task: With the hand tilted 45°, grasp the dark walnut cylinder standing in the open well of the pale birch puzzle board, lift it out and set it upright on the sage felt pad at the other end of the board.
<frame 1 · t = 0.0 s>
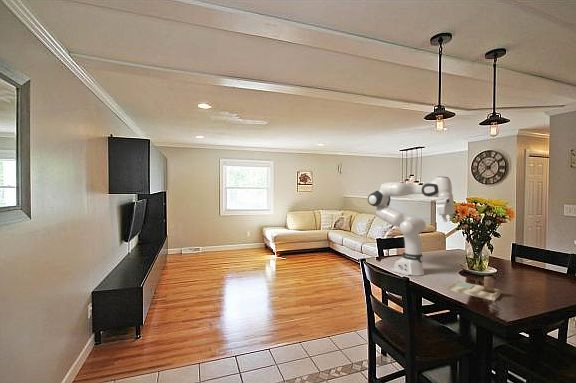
hand: (448, 221, 183), 39 cm above the table, tool pointing down, fingers open, 8 cm apart
puzzle board: (474, 292, 161), on the table
felt pad: (464, 285, 165), resting on puzzle board
wooden cylinder: (488, 295, 156), resting in puzzle board
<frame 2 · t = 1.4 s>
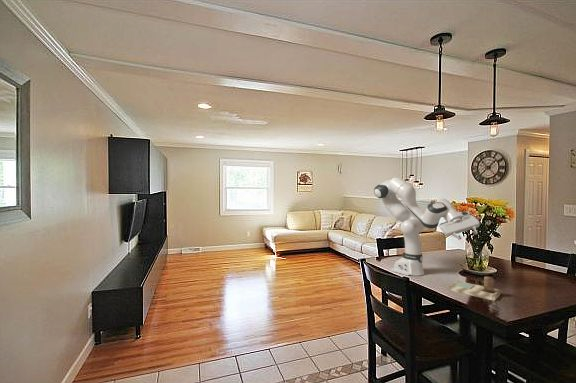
hand: (468, 236, 163), 32 cm above the table, tool tilted 50°, fingers open, 8 cm apart
nothing on the table moved.
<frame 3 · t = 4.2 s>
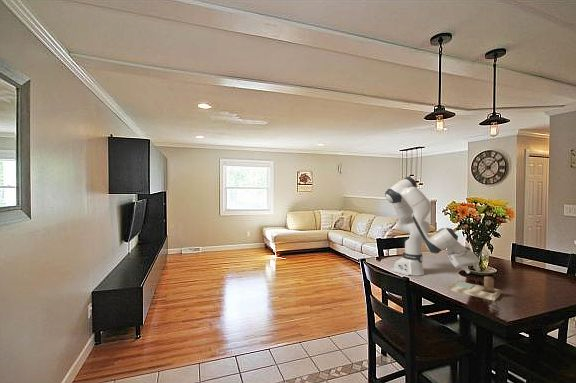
hand: (474, 271, 162), 12 cm above the table, tool tilted 45°, fingers open, 8 cm apart
nothing on the table moved.
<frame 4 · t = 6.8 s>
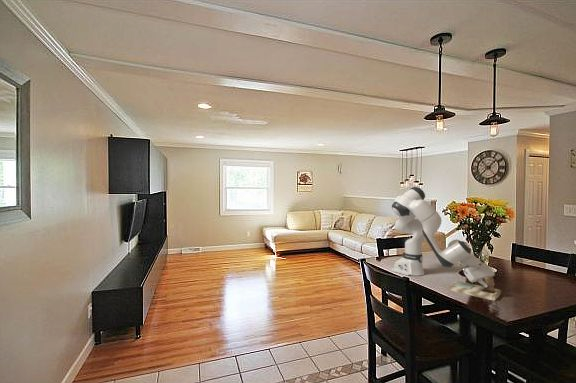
hand: (490, 286, 155), 5 cm above the table, tool tilted 45°, fingers closed on wooden cylinder, 4 cm apart
wooden cylinder: (489, 295, 156), resting in puzzle board, touching gripper
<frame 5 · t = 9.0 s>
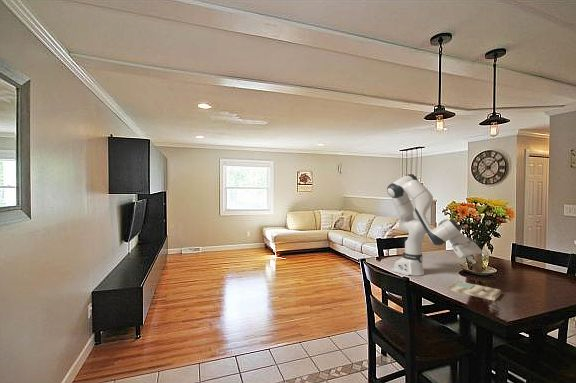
hand: (478, 262, 161), 17 cm above the table, tool tilted 45°, fingers closed on wooden cylinder, 4 cm apart
wooden cylinder: (477, 271, 162), point 12 cm above the table, touching gripper
when the fingers open (10 cm above the table, at t = 11.5 s): wooden cylinder drops 1 cm, resting on felt pad.
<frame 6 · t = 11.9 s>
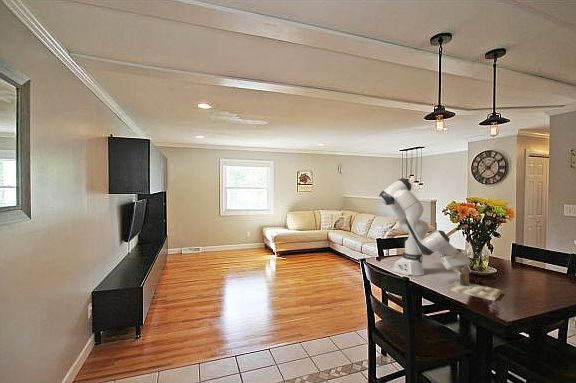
hand: (465, 273, 164), 10 cm above the table, tool tilted 45°, fingers open, 8 cm apart
wooden cylinder: (464, 284, 165), point 3 cm above the table, touching felt pad
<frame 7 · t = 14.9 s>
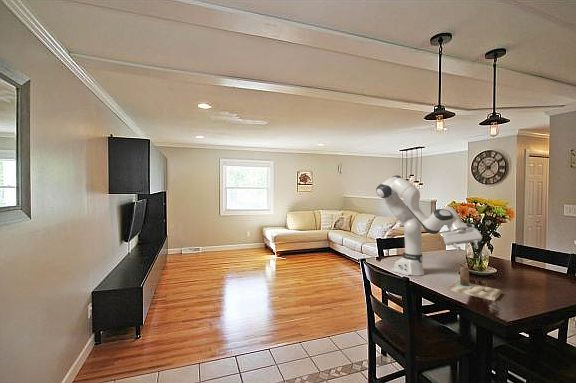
hand: (468, 249, 162), 25 cm above the table, tool tilted 45°, fingers open, 8 cm apart
nothing on the table moved.
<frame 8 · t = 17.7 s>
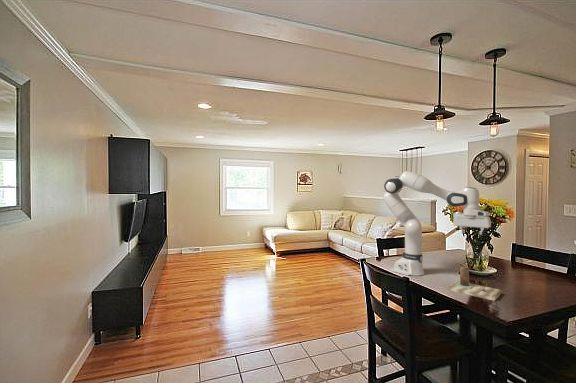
hand: (471, 233, 178), 31 cm above the table, tool pointing down, fingers open, 8 cm apart
nothing on the table moved.
at the end: wooden cylinder 0.0 cm off-centre on the felt pad, point 0.5 cm above the felt pad's base; wooden cylinder tilted 0°; the gripper is holding nothing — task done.
